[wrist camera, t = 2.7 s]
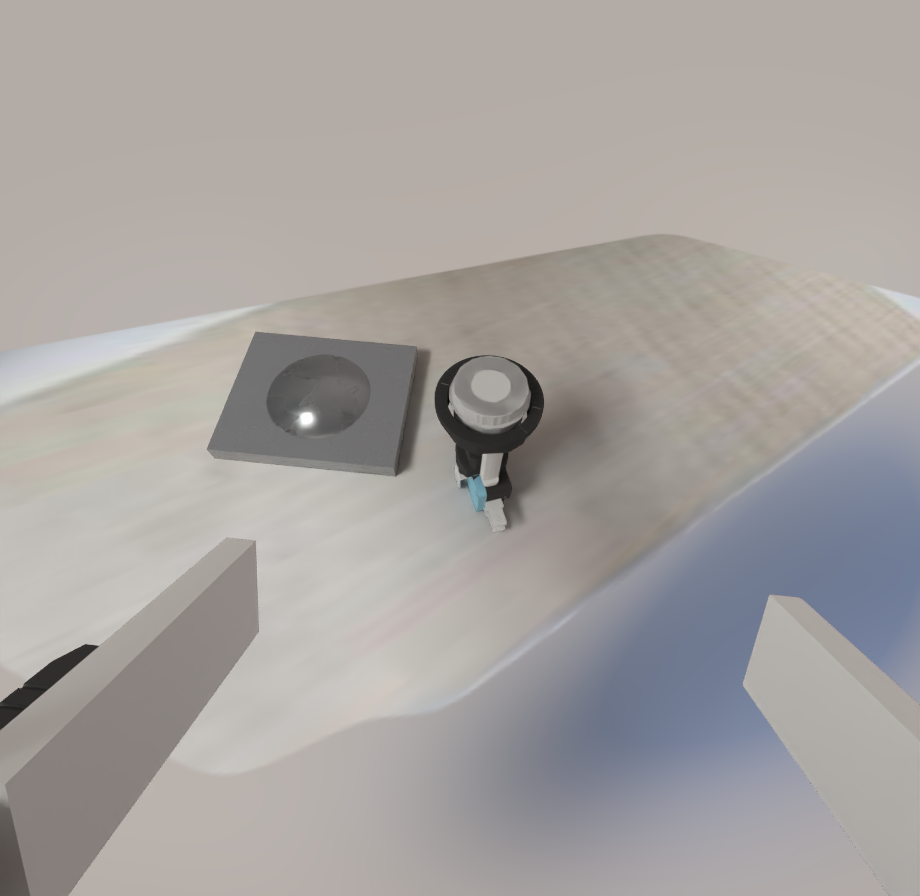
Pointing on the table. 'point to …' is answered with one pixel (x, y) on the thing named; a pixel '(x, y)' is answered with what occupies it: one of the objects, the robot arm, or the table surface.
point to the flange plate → (318, 404)
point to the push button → (488, 424)
